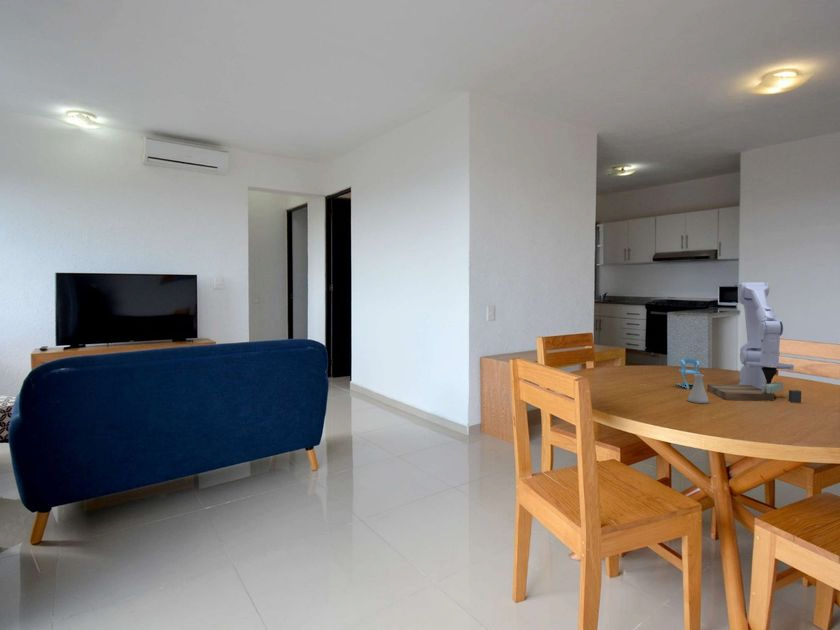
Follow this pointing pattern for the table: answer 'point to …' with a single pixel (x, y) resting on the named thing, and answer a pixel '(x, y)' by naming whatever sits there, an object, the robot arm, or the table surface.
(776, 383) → the folding leg
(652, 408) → the table surface
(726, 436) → the table surface
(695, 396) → the flask
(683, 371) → the chair
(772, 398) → the stool seat
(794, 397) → the block
